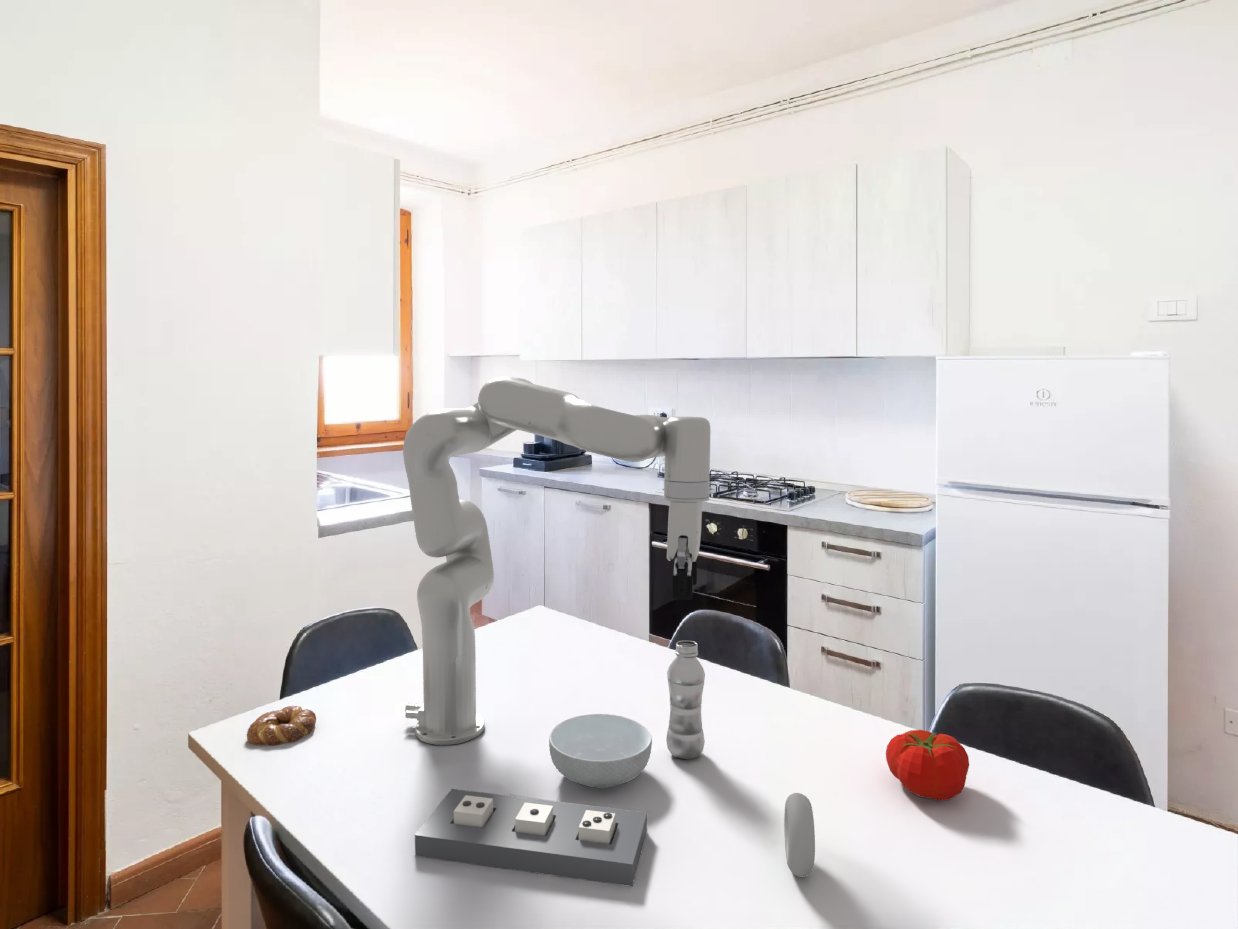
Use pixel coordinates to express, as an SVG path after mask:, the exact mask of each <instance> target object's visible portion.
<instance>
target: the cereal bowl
mask: <svg viewBox="0 0 1238 929" xmlns="http://www.w3.org/2000/svg"><path fill="white" fill-rule="evenodd" d="M548 743H549V744H548V746H549V750H548V751H549V755H550V760H551V761H552V763H553V765H554V767H555V769H557V770H558V771H557V772H559V773H560V774H561V775H563V777H565V778H566V779H568V780H569V781H572V782H574V783H576V784H579V785H583V786H587V787H591V788H598V789H601V788H602V789H605V788H609V787H610V788H611V787H614V786H619V785H622V784H626V783H627V782H630V781H631V780H634V778H636V777H637V776H639V775H640V774H641V773H642V772H643V771H644V769H645V768H646V766H647V765H648V762H649V760H650V757H651V753H652V745H653V736H652V734H651V732H650V731H649V729H648V727H646V726H645V725H643V724H642V723H640V722H639V721H637V720H635V719H632V718H629V717H626V716H621V715H616V714H609V713H592V714H583V715H578V716H574V717H570V718H567V719H565V720H563V721H560V723H558V724H557V725H555V726H554V727H553V728H552V729H551V731H550V734H549V738H548Z"/></svg>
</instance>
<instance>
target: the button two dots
mask: <svg viewBox="0 0 1238 929" xmlns="http://www.w3.org/2000/svg"><path fill="white" fill-rule="evenodd" d="M492 814H493V799H492V798H484V797H476V796H468V795H465V797H464V798H463V799H462V801H461V802H460V803H459V805H458V806H457V807H456V809H455V810H454V824H458V825H466V826H473V827H481V828H484V827H485V825H486V824H487V822H488V821H489V819H490V817H491V816H492Z"/></svg>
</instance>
